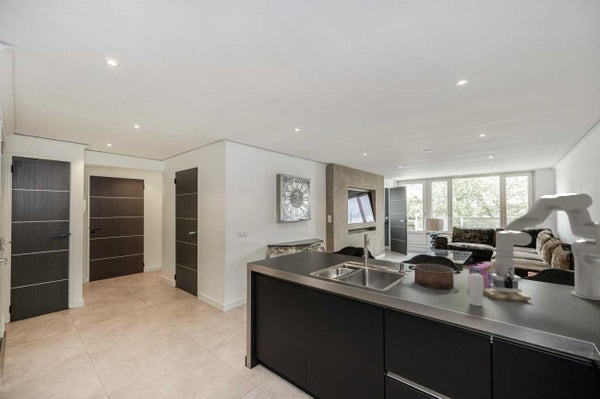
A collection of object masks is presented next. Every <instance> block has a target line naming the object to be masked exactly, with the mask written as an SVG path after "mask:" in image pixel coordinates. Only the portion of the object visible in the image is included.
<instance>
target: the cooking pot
mask: <svg viewBox="0 0 600 399" xmlns="http://www.w3.org/2000/svg"><path fill="white" fill-rule="evenodd" d="M408 269H409V270H411V271H414V283H415V284H416V285H418V286H420V287H423V288H426V289H432V290H441V291H444V290H445V291H446V290H450V289H453V288H454V282H455V280H454V275H459V274H461V271H460V269H457V268H452V267H449V266H446V265H442V264H435V263H417V264H415V265H412V264H411V265H408Z"/></svg>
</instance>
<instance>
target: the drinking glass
mask: <svg viewBox="0 0 600 399" xmlns="http://www.w3.org/2000/svg"><path fill="white" fill-rule="evenodd" d="M467 284H468V292H469V303H470V304H471V305H472V306H475V307H482V306H483V300H484V299H483V298H484V292H483V289H484V276H482V275H479V274H469V273H468V274H467Z"/></svg>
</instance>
